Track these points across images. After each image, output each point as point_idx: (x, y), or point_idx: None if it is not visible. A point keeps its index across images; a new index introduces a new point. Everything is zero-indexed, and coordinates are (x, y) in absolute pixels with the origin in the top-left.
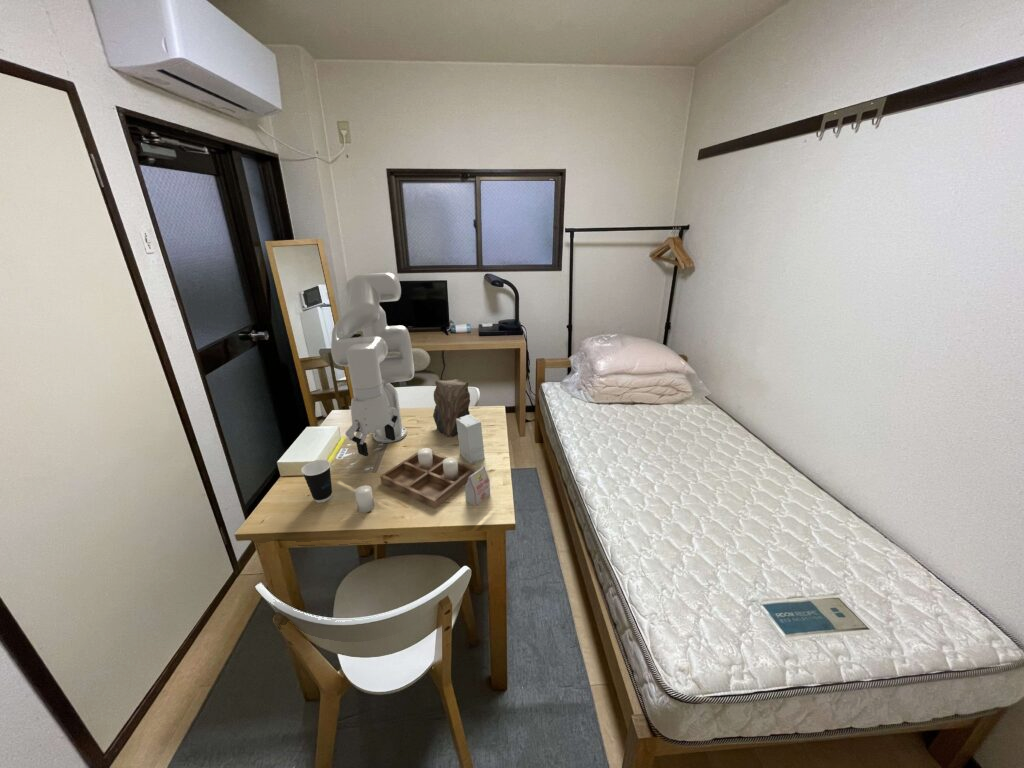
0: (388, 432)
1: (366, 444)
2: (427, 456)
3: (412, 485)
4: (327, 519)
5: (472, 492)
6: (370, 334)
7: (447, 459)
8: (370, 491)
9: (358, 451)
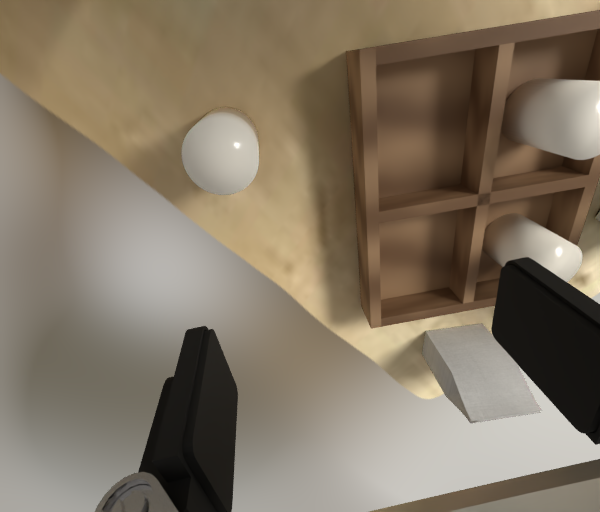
0: (550, 352)
1: (229, 500)
2: (565, 156)
3: (392, 219)
4: (74, 85)
5: (444, 386)
6: None
7: (563, 251)
8: (243, 188)
9: (166, 391)
